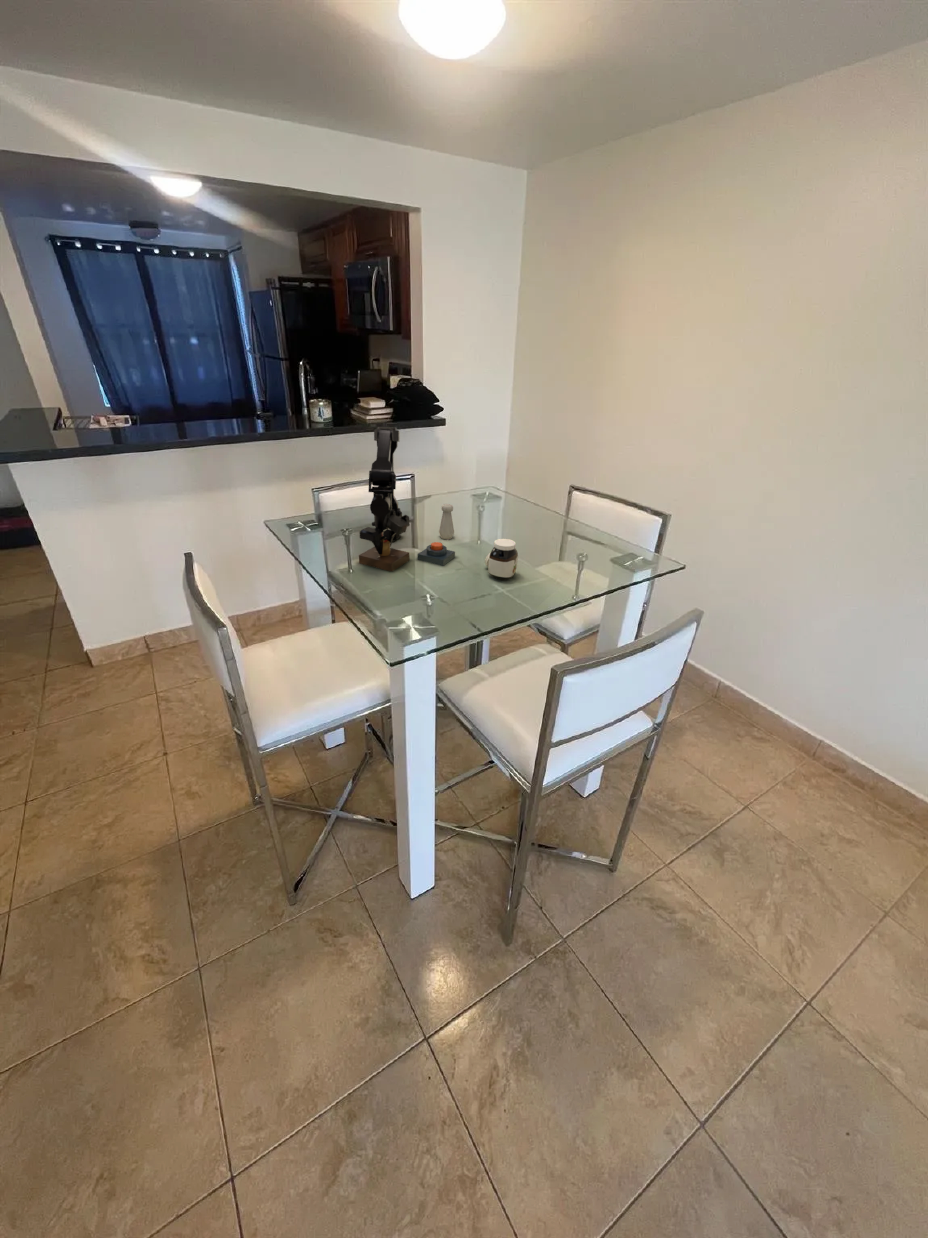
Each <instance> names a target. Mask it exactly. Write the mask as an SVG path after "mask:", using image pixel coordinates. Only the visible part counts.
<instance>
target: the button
mask: <svg viewBox="0 0 928 1238" xmlns="http://www.w3.org/2000/svg"><path fill="white" fill-rule="evenodd" d="M430 545H431V549H432V550H442V545H444V544H443V542H439V541H434V542H431V543H430Z"/></svg>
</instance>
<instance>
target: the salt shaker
mask: <svg viewBox="0 0 928 1238" xmlns="http://www.w3.org/2000/svg"><path fill="white" fill-rule="evenodd" d="M441 511H442V514H441V519H440V524H439V529H438V534H439V536H440V538H441V539H442V540H447V541H448V540H452V539H453V536H454V534H455V529H454V528H455V527H454V522H453V515H452V513H453V511H454V506H453V504H451V503H443V504H442V505H441Z"/></svg>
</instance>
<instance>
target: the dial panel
mask: <svg viewBox="0 0 928 1238" xmlns="http://www.w3.org/2000/svg"><path fill="white" fill-rule="evenodd" d="M409 561H410V552H409V551H404V550H401V549H396V548H392V547H390V555H387V556H381V555H379V554H378V552H377V550H376V548H375V546H373V547H371V548H369V549H367V550H365V551H363V552H362V553H360V554H358V564H361V565H364V566H368V567H373V568H376V569H380V570H383V571H387V572H394V571H395V570H397V569H399V568H400V567H401V566H403V565H405V564H406V563H408V562H409Z"/></svg>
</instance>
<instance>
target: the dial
mask: <svg viewBox="0 0 928 1238" xmlns="http://www.w3.org/2000/svg"><path fill="white" fill-rule="evenodd" d="M390 548H391V547H390V542H389V541H388V540H383V551H382V555H381V556H387V555H390ZM378 554H379V553H378ZM379 555H380V554H379Z"/></svg>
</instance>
